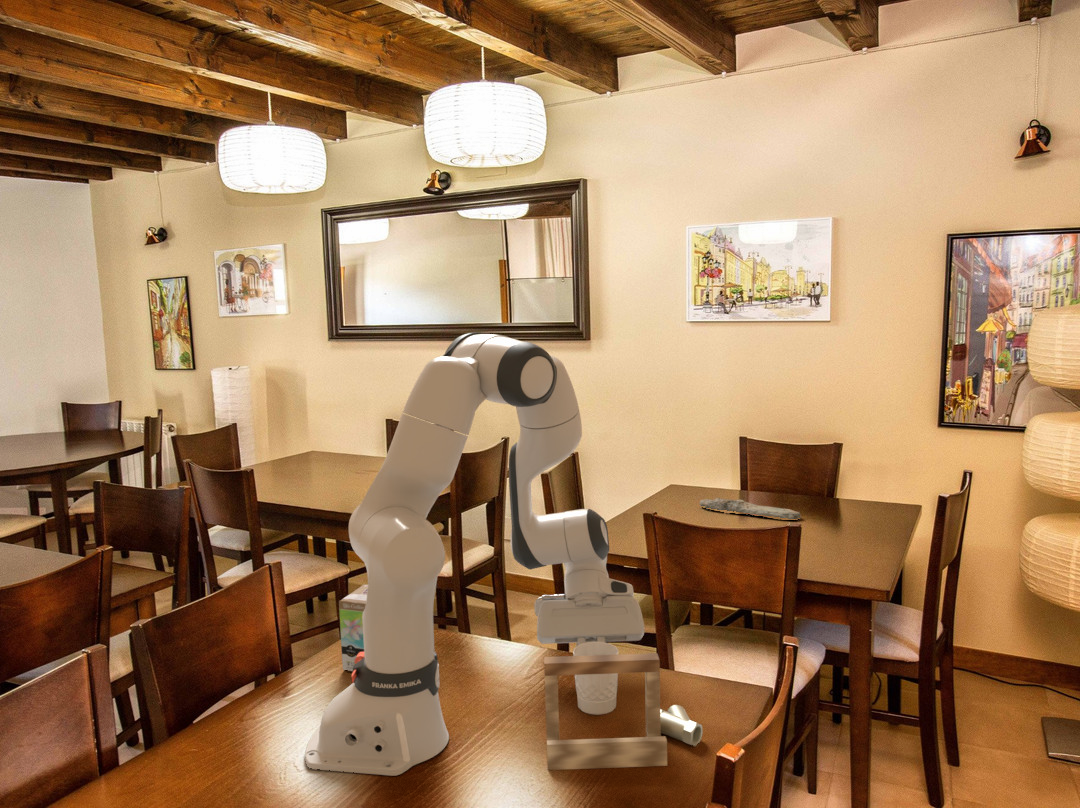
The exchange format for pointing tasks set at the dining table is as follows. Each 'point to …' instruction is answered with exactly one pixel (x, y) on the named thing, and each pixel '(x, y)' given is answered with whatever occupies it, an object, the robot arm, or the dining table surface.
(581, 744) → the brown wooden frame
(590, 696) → the white cup
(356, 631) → the tea box
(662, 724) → the pipe fitting
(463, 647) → the dining table surface
